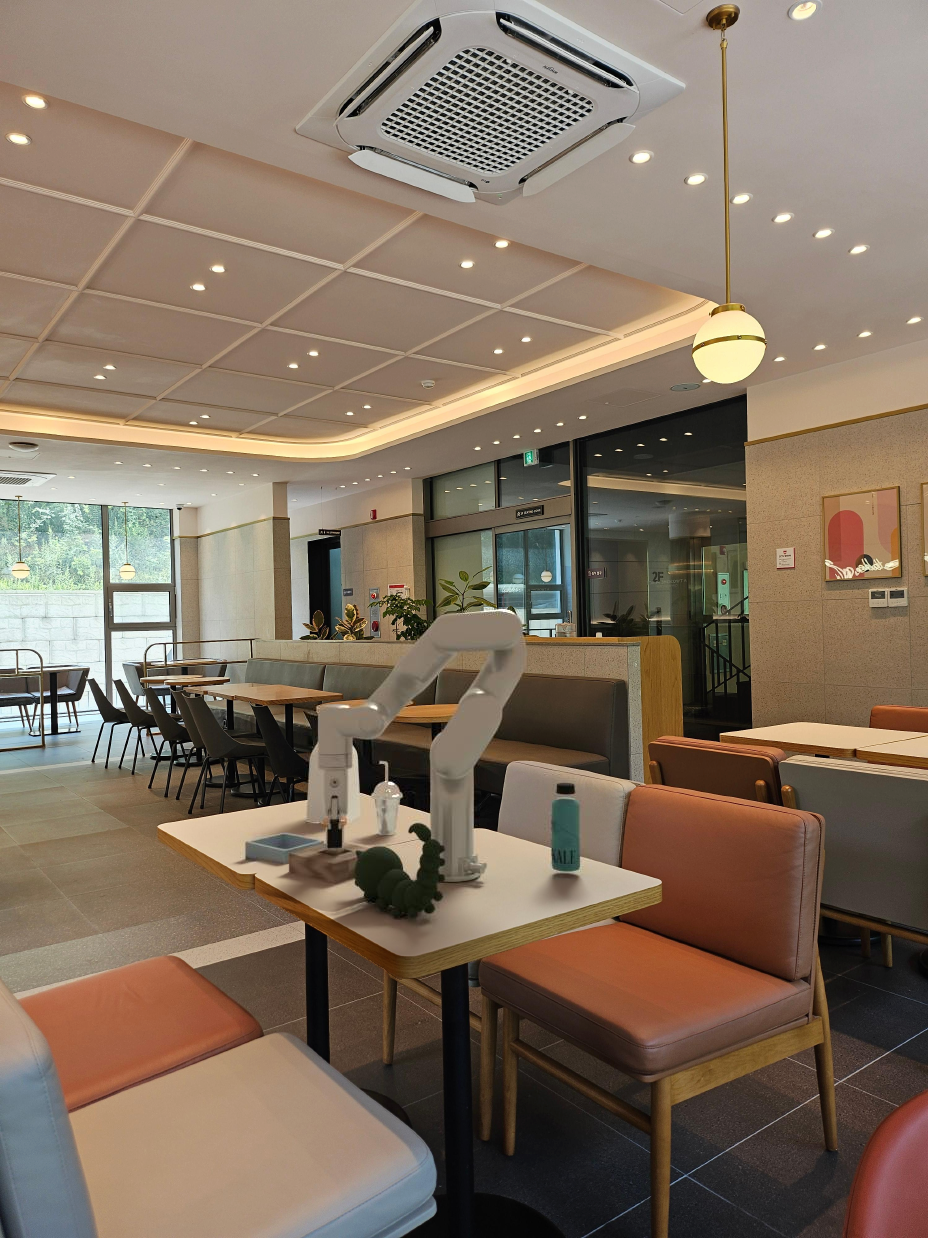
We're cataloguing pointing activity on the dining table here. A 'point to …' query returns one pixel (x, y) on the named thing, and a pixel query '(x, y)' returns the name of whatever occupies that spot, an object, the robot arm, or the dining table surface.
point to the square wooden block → (325, 863)
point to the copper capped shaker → (341, 850)
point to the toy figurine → (401, 877)
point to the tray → (278, 847)
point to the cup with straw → (386, 804)
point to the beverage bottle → (565, 830)
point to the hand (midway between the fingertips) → (334, 843)
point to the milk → (317, 790)
